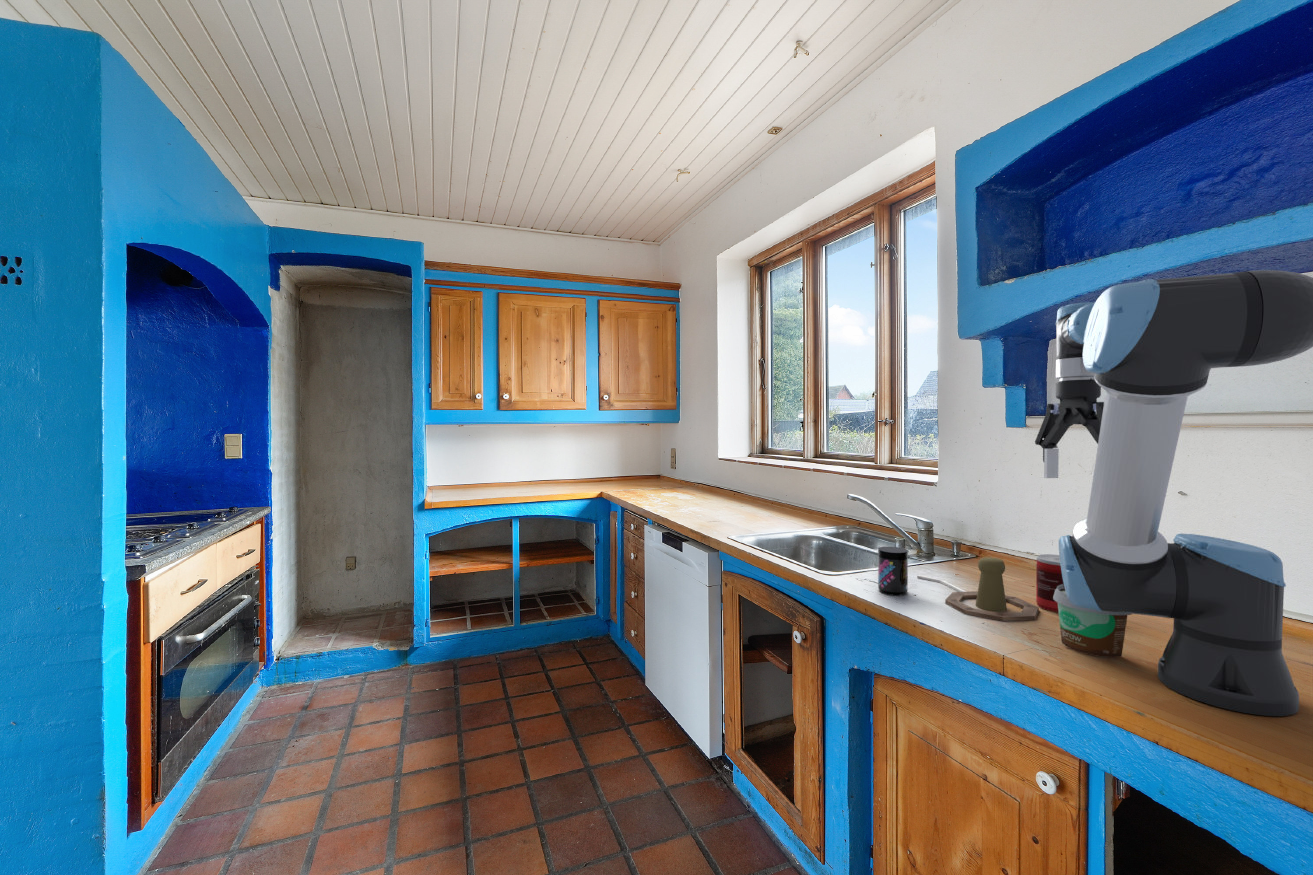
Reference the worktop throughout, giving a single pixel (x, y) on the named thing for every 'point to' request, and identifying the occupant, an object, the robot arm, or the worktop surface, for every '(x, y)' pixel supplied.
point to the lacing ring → (1026, 614)
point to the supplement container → (893, 570)
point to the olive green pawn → (991, 585)
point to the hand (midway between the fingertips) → (1076, 481)
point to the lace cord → (941, 582)
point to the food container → (1090, 628)
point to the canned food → (1048, 581)
